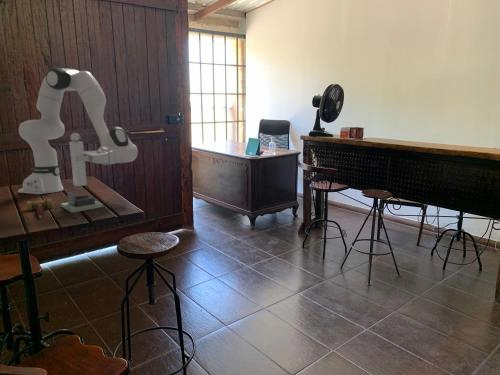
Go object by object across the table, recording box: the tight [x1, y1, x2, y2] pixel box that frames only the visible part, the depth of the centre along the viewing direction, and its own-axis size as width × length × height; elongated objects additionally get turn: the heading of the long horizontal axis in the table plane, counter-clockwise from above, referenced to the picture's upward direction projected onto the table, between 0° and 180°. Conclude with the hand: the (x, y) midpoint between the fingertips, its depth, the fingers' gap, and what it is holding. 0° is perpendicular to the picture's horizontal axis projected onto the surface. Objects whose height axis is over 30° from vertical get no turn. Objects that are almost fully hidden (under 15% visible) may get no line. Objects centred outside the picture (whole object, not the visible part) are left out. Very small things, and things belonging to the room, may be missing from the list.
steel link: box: [68, 132, 88, 187], centre depth 176 cm, size 4×4×24 cm
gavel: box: [26, 198, 53, 220], centre depth 169 cm, size 21×5×10 cm
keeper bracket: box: [60, 191, 104, 214], centre depth 180 cm, size 14×14×7 cm
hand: (75, 158), depth 175 cm, fingers closed on steel link, 4 cm apart
